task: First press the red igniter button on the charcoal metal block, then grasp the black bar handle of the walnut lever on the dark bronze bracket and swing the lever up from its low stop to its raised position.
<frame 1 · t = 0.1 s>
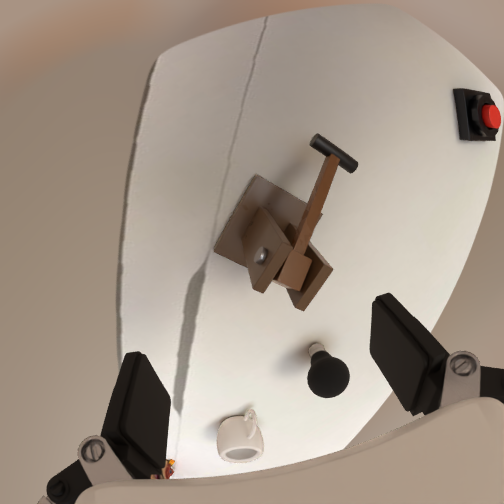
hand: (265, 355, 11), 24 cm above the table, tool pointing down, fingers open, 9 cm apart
igniter button: (491, 116, 26), point 4 cm above the table, slide at 0.1 cm
book monster: (169, 465, 54), on the table
lever: (313, 210, 25), point 9 cm above the table, hinge at -25.0°
mug: (240, 417, 47), on the table
light bulb: (314, 345, 42), on the table
bracket: (267, 229, 34), on the table
igniter: (471, 115, 30), on the table
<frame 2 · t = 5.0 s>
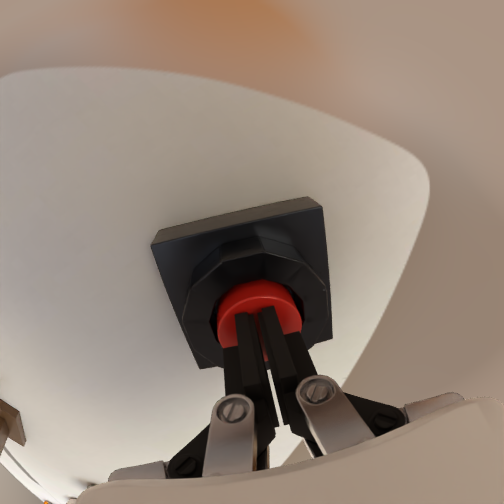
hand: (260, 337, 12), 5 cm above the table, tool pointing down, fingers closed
igniter button: (257, 320, 12), point 4 cm above the table, slide at -0.5 cm, touching gripper
mug: (82, 500, 33), on the table
igniter: (248, 279, 16), on the table
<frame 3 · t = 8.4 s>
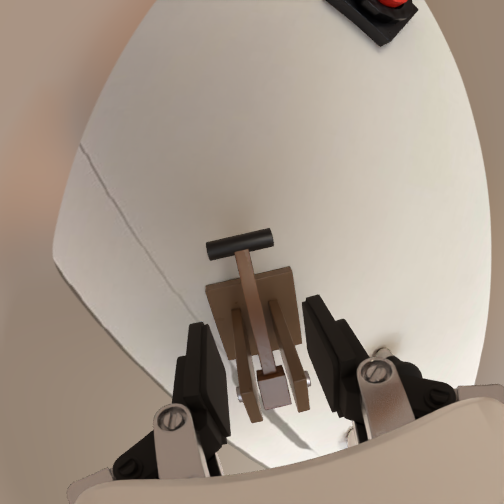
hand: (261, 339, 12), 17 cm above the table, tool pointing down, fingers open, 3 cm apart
lever: (258, 324, 22), point 9 cm above the table, hinge at -25.0°
light bulb: (379, 350, 37), on the table
bracket: (256, 314, 32), on the table
igniter: (369, 5, 20), on the table
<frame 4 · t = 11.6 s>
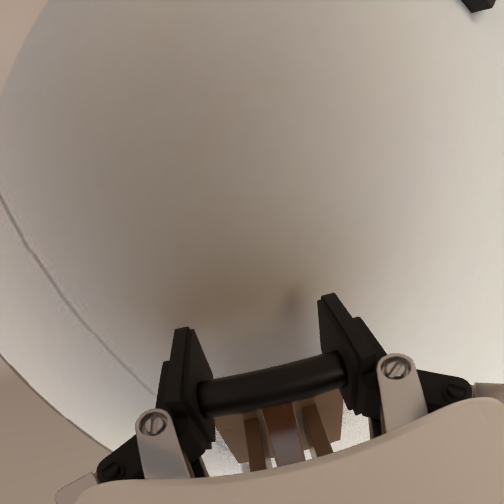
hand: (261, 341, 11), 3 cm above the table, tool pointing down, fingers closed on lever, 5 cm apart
lever: (300, 497, 9), point 9 cm above the table, hinge at -25.0°, touching gripper
bracket: (280, 415, 19), on the table
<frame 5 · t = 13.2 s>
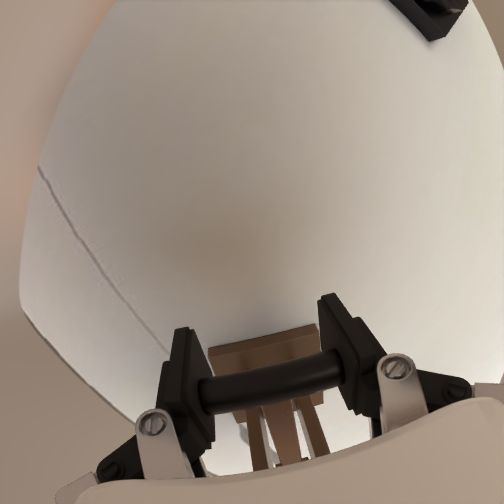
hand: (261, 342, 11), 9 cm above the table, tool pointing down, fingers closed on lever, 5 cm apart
lever: (289, 452, 12), point 11 cm above the table, hinge at 2.2°, touching gripper
bracket: (271, 376, 24), on the table
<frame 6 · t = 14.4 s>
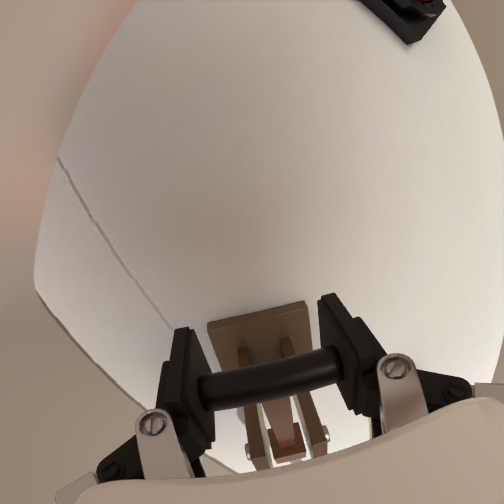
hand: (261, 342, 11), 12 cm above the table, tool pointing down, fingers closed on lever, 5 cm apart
lever: (282, 425, 13), point 13 cm above the table, hinge at 16.9°, touching gripper
bracket: (265, 352, 27), on the table
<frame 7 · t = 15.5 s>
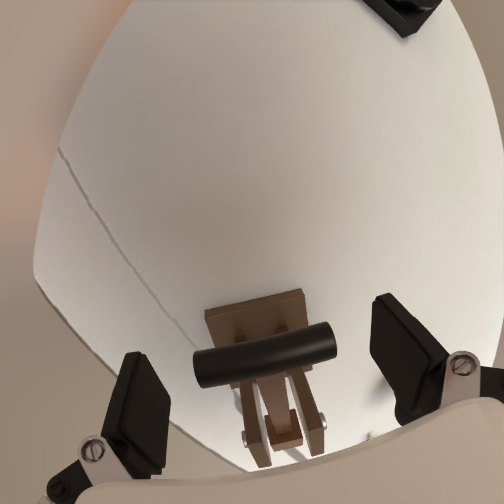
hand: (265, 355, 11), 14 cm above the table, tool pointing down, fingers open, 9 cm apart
lever: (278, 409, 14), point 13 cm above the table, hinge at 16.6°
light bulb: (392, 370, 33), on the table
bracket: (262, 340, 28), on the table
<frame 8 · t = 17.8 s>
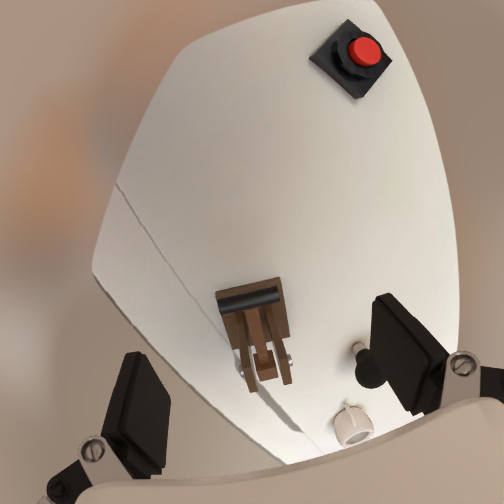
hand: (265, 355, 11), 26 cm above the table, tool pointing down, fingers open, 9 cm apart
igniter button: (364, 51, 25), point 4 cm above the table, slide at 0.1 cm
lever: (259, 340, 27), point 13 cm above the table, hinge at 16.6°
mug: (346, 410, 55), on the table
light bulb: (356, 344, 47), on the table
bracket: (254, 313, 41), on the table
igniter: (349, 59, 29), on the table
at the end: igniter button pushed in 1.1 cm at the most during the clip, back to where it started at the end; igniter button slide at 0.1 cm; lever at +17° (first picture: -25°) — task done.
